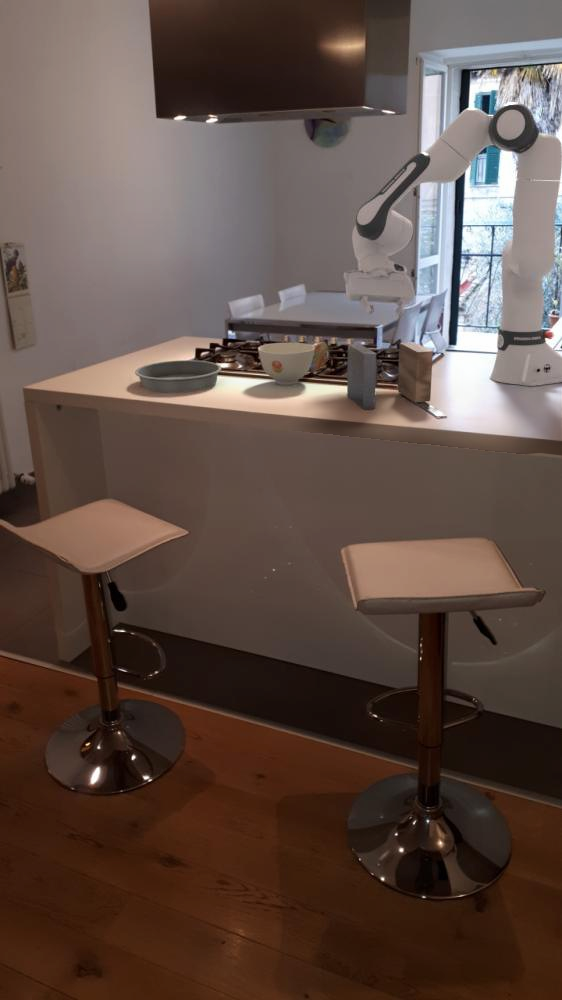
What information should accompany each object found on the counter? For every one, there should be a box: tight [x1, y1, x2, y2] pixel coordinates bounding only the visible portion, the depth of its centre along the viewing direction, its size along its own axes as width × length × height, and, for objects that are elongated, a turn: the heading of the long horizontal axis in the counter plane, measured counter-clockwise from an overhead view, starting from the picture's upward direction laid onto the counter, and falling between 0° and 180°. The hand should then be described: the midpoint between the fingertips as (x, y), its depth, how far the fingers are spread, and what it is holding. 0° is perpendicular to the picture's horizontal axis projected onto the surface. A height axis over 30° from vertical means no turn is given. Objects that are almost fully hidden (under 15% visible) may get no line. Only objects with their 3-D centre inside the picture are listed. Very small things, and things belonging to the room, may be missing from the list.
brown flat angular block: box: [397, 341, 434, 403], centre depth 209 cm, size 4×13×13 cm, turn 12°
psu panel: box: [346, 342, 448, 418], centre depth 203 cm, size 17×27×14 cm, turn 12°
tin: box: [308, 341, 331, 373], centre depth 243 cm, size 15×3×8 cm, turn 155°
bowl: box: [257, 342, 315, 386], centre depth 229 cm, size 16×16×10 cm
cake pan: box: [134, 359, 222, 393], centre depth 232 cm, size 25×25×4 cm
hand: (385, 313), depth 224 cm, fingers open, 8 cm apart
